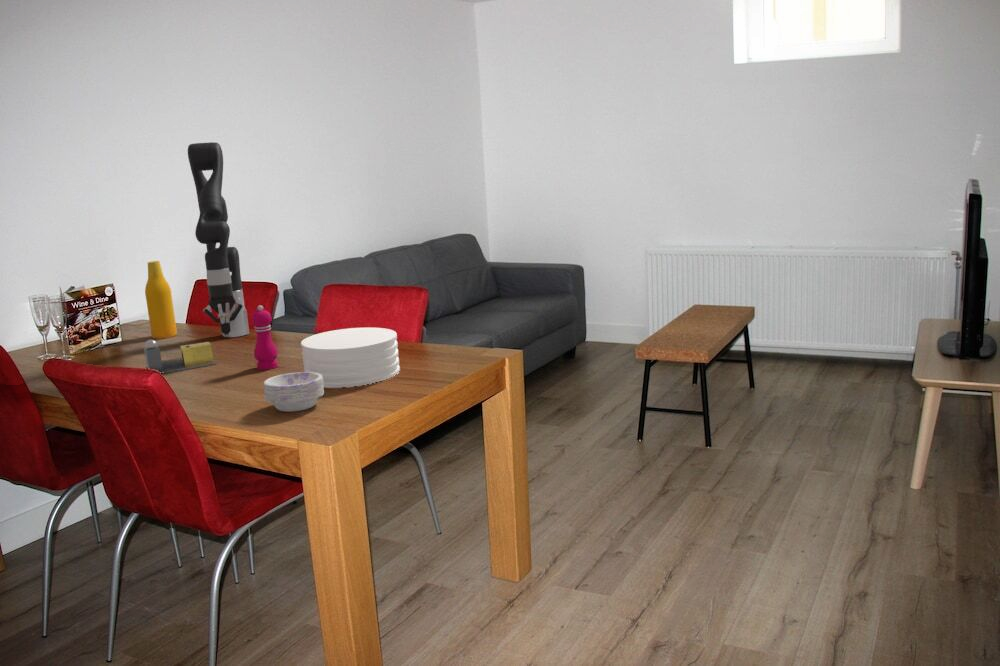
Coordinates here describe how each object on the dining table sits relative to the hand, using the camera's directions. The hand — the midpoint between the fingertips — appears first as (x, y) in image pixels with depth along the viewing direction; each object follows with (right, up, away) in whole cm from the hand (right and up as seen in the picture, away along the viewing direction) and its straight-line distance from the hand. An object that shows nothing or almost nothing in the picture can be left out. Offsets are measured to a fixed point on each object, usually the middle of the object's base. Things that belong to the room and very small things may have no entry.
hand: (226, 334), depth 282 cm
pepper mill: (+18, -11, -14) cm, 25 cm away
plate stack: (+47, -12, -28) cm, 56 cm away
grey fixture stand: (-13, -10, -5) cm, 18 cm away
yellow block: (-8, -9, -3) cm, 13 cm away
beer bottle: (-38, -1, +45) cm, 59 cm away
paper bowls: (+37, -19, -58) cm, 71 cm away
